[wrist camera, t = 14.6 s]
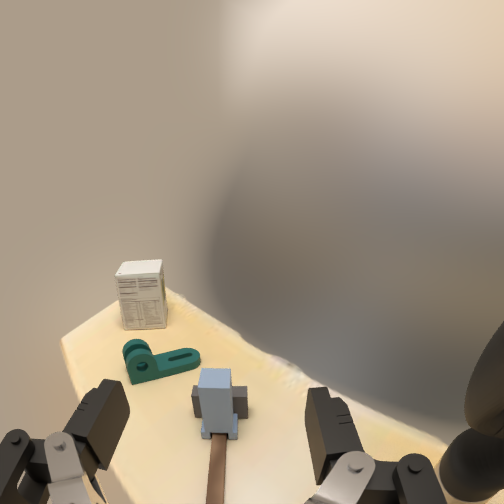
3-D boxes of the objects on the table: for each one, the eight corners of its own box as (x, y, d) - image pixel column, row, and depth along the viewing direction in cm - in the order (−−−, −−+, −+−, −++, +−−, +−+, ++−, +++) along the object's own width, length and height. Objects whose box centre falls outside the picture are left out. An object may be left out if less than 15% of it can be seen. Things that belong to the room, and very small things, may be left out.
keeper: (237, 420, 49) (235, 368, 46) (237, 439, 44) (234, 388, 41) (204, 419, 49) (197, 368, 46) (202, 438, 44) (193, 387, 41)
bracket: (132, 385, 57) (124, 357, 55) (126, 369, 63) (119, 342, 61) (205, 366, 66) (202, 339, 64) (194, 352, 72) (191, 326, 70)
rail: (227, 418, 50) (227, 414, 49) (221, 555, 22) (220, 553, 21) (215, 418, 50) (214, 414, 49) (203, 554, 22) (201, 552, 21)
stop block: (247, 407, 53) (247, 386, 51) (247, 418, 50) (247, 396, 48) (197, 407, 52) (193, 385, 51) (195, 417, 50) (191, 395, 48)
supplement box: (166, 328, 83) (159, 272, 78) (124, 330, 80) (113, 275, 75) (168, 309, 95) (162, 258, 91) (130, 311, 93) (122, 261, 88)
